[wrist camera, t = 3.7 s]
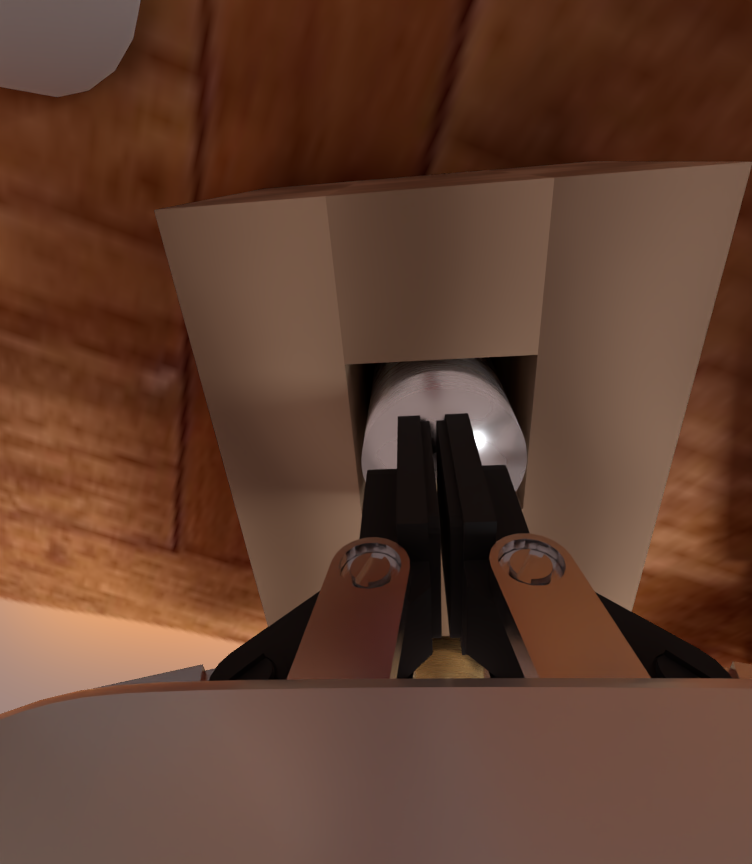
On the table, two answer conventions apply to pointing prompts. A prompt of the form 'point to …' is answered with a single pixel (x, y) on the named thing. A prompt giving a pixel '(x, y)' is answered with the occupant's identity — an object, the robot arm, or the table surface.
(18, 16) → the can
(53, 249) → the table surface
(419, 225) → the socket block
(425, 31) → the table surface
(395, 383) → the steel peg
